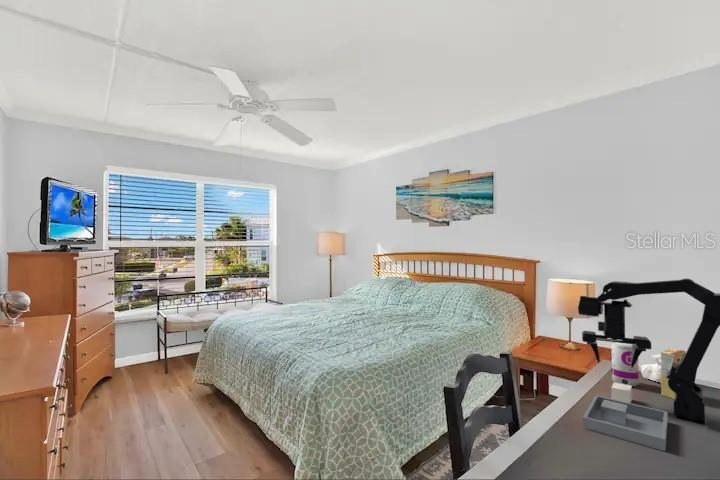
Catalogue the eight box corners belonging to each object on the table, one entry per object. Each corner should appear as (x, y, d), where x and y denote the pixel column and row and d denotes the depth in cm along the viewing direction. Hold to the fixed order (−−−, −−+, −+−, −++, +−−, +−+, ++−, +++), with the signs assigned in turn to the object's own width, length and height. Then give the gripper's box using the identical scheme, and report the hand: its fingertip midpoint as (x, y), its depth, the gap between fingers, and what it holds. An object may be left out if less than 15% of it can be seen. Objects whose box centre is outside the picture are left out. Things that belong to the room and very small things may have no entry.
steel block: (627, 418, 108) (627, 405, 108) (625, 426, 103) (625, 412, 103) (604, 412, 112) (603, 399, 112) (600, 419, 107) (600, 406, 107)
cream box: (632, 400, 121) (631, 385, 121) (630, 406, 117) (629, 391, 117) (614, 396, 125) (613, 382, 125) (611, 402, 120) (611, 387, 120)
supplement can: (643, 388, 131) (642, 347, 132) (618, 386, 133) (617, 346, 133) (631, 380, 139) (630, 341, 140) (608, 378, 141) (607, 340, 141)
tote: (667, 423, 105) (667, 411, 105) (665, 453, 90) (665, 439, 90) (595, 405, 117) (595, 395, 117) (583, 429, 102) (582, 417, 103)
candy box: (672, 390, 129) (671, 347, 130) (687, 394, 126) (686, 350, 126) (660, 395, 125) (659, 351, 125) (676, 399, 121) (674, 354, 122)
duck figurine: (681, 392, 133) (685, 364, 137) (676, 383, 129) (681, 355, 134) (641, 382, 143) (647, 356, 147) (636, 374, 139) (641, 348, 143)
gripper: (644, 317, 123) (645, 362, 123) (581, 312, 133) (581, 354, 133) (651, 323, 114) (651, 372, 114) (582, 317, 123) (582, 363, 123)
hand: (614, 364), depth 121 cm, fingers open, 9 cm apart
